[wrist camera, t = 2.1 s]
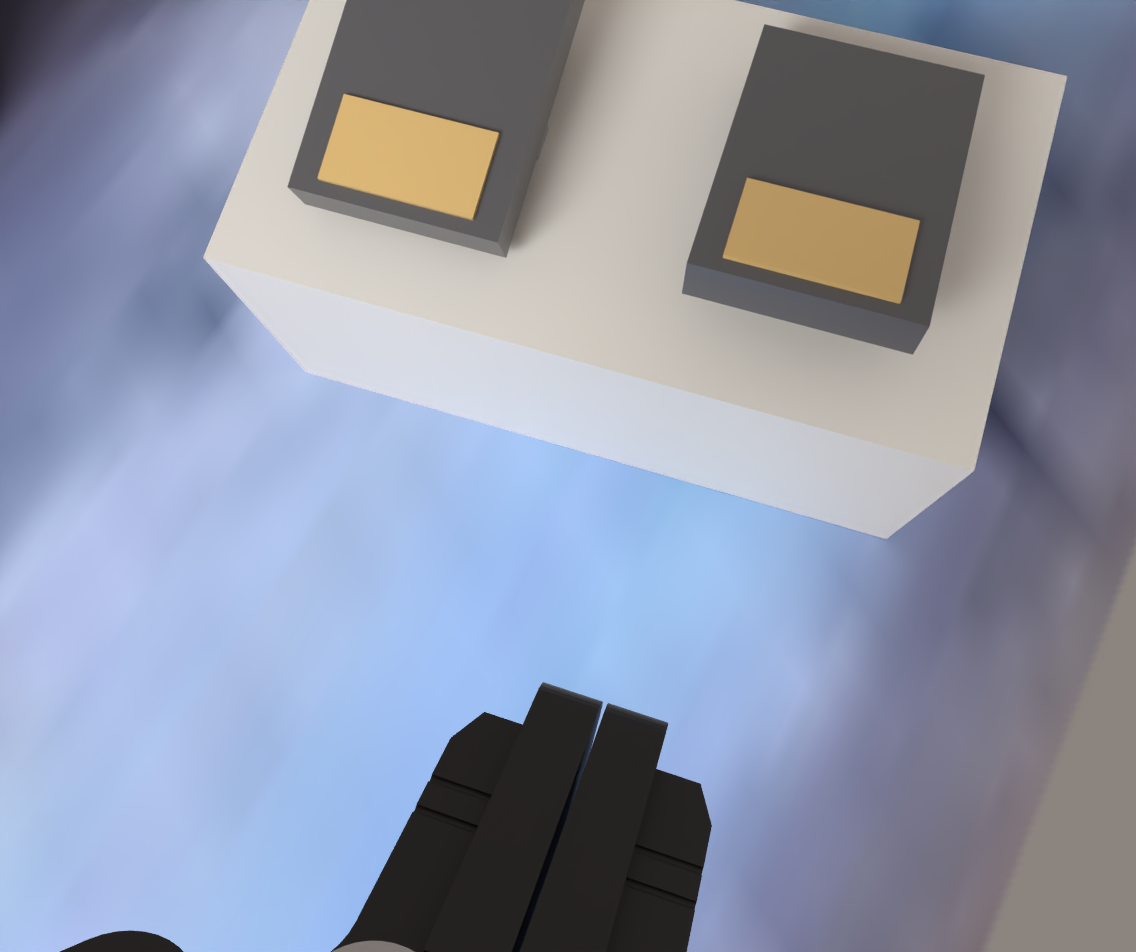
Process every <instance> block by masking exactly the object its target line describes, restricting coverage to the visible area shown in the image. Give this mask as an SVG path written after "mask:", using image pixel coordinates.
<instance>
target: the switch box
mask: <svg viewBox="0 0 1136 952" xmlns="http://www.w3.org/2000/svg"><path fill="white" fill-rule="evenodd" d="M345 3H346V0H310V1H309V3H308V6H307V8H306V11H305V13H304V15H303V18H302V20H301V23H300V25H299V27H298V30H297V32H296V35H295V37H294V40H293V42H292V44H291V47H290V49H289V52H288V54H287V56H286V59H285V61H284V64H283V66H282V68H281V71H280V73H279V76H278V78H277V81H276V83H275V85H274V88H273V90H272V93H271V95H270V97H269V100H268V102H267V105H266V107H265V110H264V112H263V114H262V117H261V119H260V122H259V124H258V126H257V129H256V131H255V134H254V136H253V138H252V141H251V143H250V146H249V148H248V151H247V153H246V155H245V158H244V160H243V163H242V165H241V167H240V170H239V172H238V175H237V177H236V179H235V182H234V184H233V187H232V189H231V192H230V194H229V196H228V199H227V201H226V204H225V206H224V208H223V211H222V213H221V216H220V218H219V220H218V223H217V225H216V228H215V230H214V233H213V235H212V237H211V240H210V242H209V245H208V247H207V249H206V252H205V254H204V257H203V258H204V259H205V260H206V261H207V262H208V263H209V265H210V266H211V267H212V268H213V269H214V270H215V271H216V272H217V274H218V275H219V276H220V277H221V278H222V279H223V280H224V281H225V282H226V284H227V285H228V286H229V287H230V288H231V289H232V290H233V291H234V292H235V294H236V295H237V296H238V297H239V298H240V299H241V300H242V301H243V302H244V304H245V305H246V306H247V307H248V308H249V309H250V310H251V311H252V312H253V314H254V315H255V316H256V317H257V318H258V319H259V320H260V321H261V322H262V324H263V325H264V326H265V327H266V328H267V329H268V330H269V331H270V332H271V334H272V335H273V336H274V337H275V338H276V339H277V340H278V341H279V342H280V344H281V345H282V346H283V347H284V348H285V349H286V350H287V351H288V352H289V354H290V355H291V356H292V357H293V358H294V359H295V360H296V361H297V363H298V364H299V365H300V366H301V367H302V368H303V369H304V370H305V371H306V373H310V374H313V375H317V376H320V377H324V378H327V379H331V380H334V381H338V382H341V383H345V384H348V385H352V386H355V387H358V388H362V389H365V390H369V391H372V392H376V393H379V394H383V395H386V396H390V397H393V398H397V399H400V400H404V401H407V402H411V403H414V404H418V405H421V406H425V407H428V408H431V409H435V410H438V411H442V412H445V413H449V414H452V415H456V416H459V417H463V418H466V419H470V420H473V421H477V422H480V423H484V424H487V425H491V426H494V427H498V428H501V429H505V430H508V431H511V432H515V433H518V434H522V435H525V436H529V437H532V438H536V439H539V440H543V441H546V442H550V443H553V444H557V445H560V446H564V447H567V448H571V449H574V450H578V451H581V452H584V453H588V454H591V455H595V456H598V457H602V458H605V459H609V460H612V461H616V462H619V463H623V464H626V465H630V466H633V467H637V468H640V469H644V470H647V471H651V472H654V473H658V474H661V475H664V476H668V477H671V478H675V479H678V480H682V481H685V482H689V483H692V484H696V485H699V486H703V487H706V488H710V489H713V490H717V491H720V492H724V493H727V494H731V495H734V496H737V497H741V498H744V499H748V500H751V501H755V502H758V503H762V504H765V505H769V506H772V507H776V508H779V509H783V510H786V511H790V512H793V513H797V514H800V515H804V516H807V517H811V518H814V519H817V520H821V521H824V522H828V523H831V524H835V525H838V526H842V527H845V528H849V529H852V530H856V531H859V532H863V533H866V534H870V535H873V536H877V537H880V538H884V539H887V538H888V537H890V536H891V535H892V534H893V533H895V532H896V531H897V530H899V529H900V528H901V527H902V526H904V525H905V524H906V523H908V522H909V521H910V520H911V519H913V518H914V517H915V516H917V515H918V514H919V513H921V512H922V511H923V510H924V509H926V508H927V507H928V506H930V505H931V504H932V503H933V502H935V501H936V500H937V499H939V498H940V497H941V496H942V495H944V494H945V493H946V492H948V491H949V490H950V489H951V488H953V487H954V486H955V485H957V484H958V483H959V482H961V481H962V480H963V479H964V478H966V477H967V476H968V475H970V474H971V473H972V472H973V471H974V470H975V465H976V461H977V457H978V453H979V448H980V444H981V440H982V436H983V431H984V427H985V423H986V419H987V415H988V410H989V406H990V402H991V398H992V393H993V389H994V385H995V381H996V376H997V372H998V368H999V364H1000V359H1001V355H1002V351H1003V347H1004V343H1005V338H1006V334H1007V330H1008V326H1009V321H1010V317H1011V313H1012V309H1013V304H1014V300H1015V296H1016V292H1017V287H1018V283H1019V279H1020V275H1021V271H1022V266H1023V262H1024V258H1025V254H1026V249H1027V245H1028V241H1029V237H1030V232H1031V228H1032V224H1033V220H1034V216H1035V211H1036V207H1037V203H1038V199H1039V194H1040V190H1041V186H1042V182H1043V177H1044V173H1045V169H1046V165H1047V160H1048V156H1049V152H1050V148H1051V144H1052V139H1053V135H1054V131H1055V127H1056V122H1057V118H1058V114H1059V110H1060V105H1061V101H1062V97H1063V93H1064V88H1065V84H1066V80H1067V76H1065V75H1060V74H1056V73H1052V72H1047V71H1043V70H1038V69H1034V68H1030V67H1025V66H1021V65H1017V64H1012V63H1008V62H1003V61H999V60H995V59H990V58H986V57H982V56H977V55H973V54H968V53H964V52H960V51H955V50H951V49H946V48H942V47H938V46H933V45H929V44H925V43H920V42H916V41H911V40H907V39H903V38H898V37H894V36H890V35H885V34H881V33H876V32H872V31H868V30H863V29H859V28H855V27H850V26H846V25H841V24H837V23H833V22H828V21H824V20H820V19H815V18H811V17H806V16H802V15H798V14H793V13H789V12H784V11H780V10H776V9H771V8H767V7H763V6H758V5H754V4H749V3H745V2H741V1H736V0H585V2H584V5H583V8H582V11H581V15H580V18H579V21H578V25H577V28H576V31H575V34H574V38H573V41H572V44H571V48H570V51H569V54H568V57H567V61H566V64H565V67H564V71H563V74H562V77H561V80H560V84H559V87H558V90H557V93H556V97H555V100H554V103H553V107H552V110H551V113H550V116H549V120H548V123H547V126H546V130H545V133H544V136H543V139H542V143H541V146H540V149H539V153H538V156H537V159H536V162H535V166H534V169H533V172H532V175H531V179H530V182H529V185H528V189H527V192H526V195H525V198H524V202H523V205H522V208H521V212H520V215H519V218H518V221H517V225H516V228H515V231H514V235H513V238H512V241H511V244H510V248H509V251H508V254H507V257H506V258H505V257H501V256H497V255H493V254H490V253H486V252H482V251H478V250H475V249H471V248H467V247H463V246H460V245H456V244H452V243H448V242H445V241H441V240H437V239H433V238H430V237H426V236H422V235H418V234H415V233H411V232H407V231H403V230H400V229H396V228H392V227H388V226H385V225H381V224H377V223H373V222H370V221H366V220H362V219H358V218H354V217H351V216H347V215H343V214H339V213H336V212H332V211H328V210H324V209H321V208H317V207H313V206H309V205H306V204H304V203H303V202H302V201H301V200H300V199H299V198H298V197H297V196H296V195H295V194H294V193H293V192H292V191H291V190H290V189H289V188H288V187H287V186H288V183H289V180H290V177H291V174H292V170H293V167H294V164H295V161H296V158H297V155H298V151H299V148H300V145H301V142H302V139H303V136H304V133H305V129H306V126H307V123H308V120H309V117H310V114H311V111H312V107H313V104H314V101H315V98H316V95H317V92H318V88H319V85H320V82H321V79H322V76H323V73H324V70H325V66H326V63H327V60H328V57H329V54H330V51H331V48H332V44H333V41H334V38H335V35H336V32H337V29H338V25H339V22H340V19H341V16H342V13H343V10H344V7H345ZM764 24H766V25H771V26H775V27H779V28H784V29H788V30H792V31H797V32H801V33H805V34H810V35H814V36H818V37H823V38H827V39H831V40H836V41H840V42H844V43H849V44H853V45H857V46H862V47H866V48H870V49H875V50H879V51H883V52H888V53H892V54H896V55H901V56H905V57H909V58H914V59H918V60H922V61H927V62H931V63H935V64H940V65H944V66H948V67H953V68H957V69H962V70H966V71H970V72H975V73H979V74H983V75H985V78H984V82H983V87H982V91H981V96H980V100H979V105H978V109H977V114H976V118H975V123H974V128H973V132H972V137H971V141H970V146H969V150H968V155H967V159H966V164H965V168H964V173H963V177H962V182H961V187H960V191H959V196H958V200H957V205H956V209H955V214H954V218H953V223H952V227H951V232H950V237H949V241H948V246H947V250H946V255H945V259H944V264H943V268H942V273H941V277H940V282H939V286H938V291H937V296H936V300H935V305H934V309H933V314H932V318H931V323H930V327H929V328H928V330H927V332H926V334H925V335H924V337H923V339H922V340H921V342H920V344H919V345H918V347H917V349H916V350H915V352H914V354H913V355H912V354H908V353H904V352H901V351H897V350H893V349H889V348H886V347H882V346H878V345H874V344H870V343H867V342H863V341H859V340H855V339H852V338H848V337H844V336H840V335H837V334H833V333H829V332H825V331H821V330H818V329H814V328H810V327H806V326H803V325H799V324H795V323H791V322H787V321H784V320H780V319H776V318H772V317H769V316H765V315H761V314H757V313H754V312H750V311H746V310H742V309H738V308H735V307H731V306H727V305H723V304H720V303H716V302H712V301H708V300H704V299H701V298H697V297H693V296H689V295H686V294H682V289H683V283H684V276H685V270H686V264H687V260H688V257H689V254H690V251H691V248H692V245H693V242H694V239H695V236H696V233H697V230H698V227H699V224H700V221H701V217H702V214H703V211H704V208H705V205H706V202H707V199H708V196H709V193H710V190H711V187H712V184H713V181H714V177H715V174H716V171H717V168H718V165H719V162H720V159H721V156H722V153H723V150H724V147H725V144H726V141H727V137H728V134H729V131H730V128H731V125H732V122H733V119H734V116H735V113H736V110H737V107H738V104H739V101H740V98H741V94H742V91H743V88H744V85H745V82H746V79H747V76H748V73H749V70H750V67H751V64H752V61H753V58H754V54H755V51H756V48H757V45H758V42H759V39H760V36H761V33H762V30H763V27H764Z"/></svg>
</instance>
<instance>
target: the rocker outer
mask: <svg viewBox="0 0 1136 952" xmlns="http://www.w3.org/2000/svg"><path fill="white" fill-rule="evenodd" d="M984 78H985V75H983V74H979V73H975V72H970V71H966V70H962V69H957V68H953V67H948V66H944V65H940V64H935V63H931V62H927V61H922V60H918V59H914V58H909V57H905V56H901V55H896V54H892V53H888V52H883V51H879V50H875V49H870V48H866V47H862V46H857V45H853V44H849V43H844V42H840V41H836V40H831V39H827V38H823V37H818V36H814V35H810V34H805V33H801V32H797V31H792V30H788V29H784V28H779V27H775V26H771V25H766V24H764V27H763V30H762V33H761V36H760V39H759V42H758V45H757V48H756V51H755V54H754V58H753V61H752V64H751V67H750V70H749V73H748V76H747V79H746V82H745V85H744V88H743V91H742V94H741V98H740V101H739V104H738V107H737V110H736V113H735V116H734V119H733V122H732V125H731V128H730V131H729V134H728V137H727V141H726V144H725V147H724V150H723V153H722V156H721V159H720V162H719V165H718V168H717V171H716V174H715V177H714V181H713V184H712V187H711V190H710V193H709V196H708V199H707V202H706V205H705V208H704V211H703V214H702V217H701V221H700V224H699V227H698V230H697V233H696V236H695V239H694V242H693V245H692V248H691V251H690V254H689V257H688V260H687V264H686V270H685V276H684V283H683V289H682V294H686V295H689V296H693V297H697V298H701V299H704V300H708V301H712V302H716V303H720V304H723V305H727V306H731V307H735V308H738V309H742V310H746V311H750V312H754V313H757V314H761V315H765V316H769V317H772V318H776V319H780V320H784V321H787V322H791V323H795V324H799V325H803V326H806V327H810V328H814V329H818V330H821V331H825V332H829V333H833V334H837V335H840V336H844V337H848V338H852V339H855V340H859V341H863V342H867V343H870V344H874V345H878V346H882V347H886V348H889V349H893V350H897V351H901V352H904V353H908V354H912V355H913V354H914V352H915V350H916V349H917V347H918V345H919V344H920V342H921V340H922V339H923V337H924V335H925V334H926V332H927V330H928V328H929V327H930V323H931V318H932V314H933V309H934V305H935V300H936V296H937V291H938V286H939V282H940V277H941V273H942V268H943V264H944V259H945V255H946V250H947V246H948V241H949V237H950V232H951V227H952V223H953V218H954V214H955V209H956V205H957V200H958V196H959V191H960V187H961V182H962V177H963V173H964V168H965V164H966V159H967V155H968V150H969V146H970V141H971V137H972V132H973V128H974V123H975V118H976V114H977V109H978V105H979V100H980V96H981V91H982V87H983V82H984Z"/></svg>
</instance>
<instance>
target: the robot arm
mask: <svg viewBox="0 0 1136 952" xmlns="http://www.w3.org/2000/svg"><path fill="white" fill-rule="evenodd" d="M602 704H603V702H602V701H599V700H596V699H593V698H590V697H587V696H584V695H581V694H577V693H574V692H571V691H568V690H565V689H562V688H559V687H556V686H553V685H550V684H547V683H544V682H543V683H542V684H541V686H540V688H539V689H538V692H537V694H536V696H535V698H534V701H533V703H532V705H531V707H530V710H529V712H528V714H527V716H526V719H525V721H524V723H523V725H522V724H519V723H516V722H513V721H510V720H507V719H504V718H501V717H498V716H495V715H492V714H489V713H486V712H484V713H482V714H481V715H480V716H479V717H477V718H476V719H475V720H473V721H472V722H471V723H469V724H468V725H467V726H466V727H464V728H463V729H462V730H460V731H459V732H458V733H456V734H455V735H454V736H453V737H451V739H450V740H449V742H448V744H447V746H446V748H445V750H444V752H443V754H442V756H441V758H440V760H439V762H438V764H437V766H436V768H435V770H434V771H433V773H432V777H431V779H430V782H429V781H428V783H427V785H426V787H425V789H424V791H423V793H422V795H421V797H420V799H419V801H418V802H417V805H416V808H415V811H414V812H412V814H411V816H410V818H409V820H408V822H407V824H406V826H405V828H404V830H403V832H402V834H401V835H400V837H399V839H398V841H397V843H396V845H395V847H394V849H393V851H392V853H391V855H390V857H389V859H388V861H387V863H386V865H385V866H384V868H383V870H382V872H381V874H380V876H379V878H378V880H377V882H376V884H375V886H374V888H373V890H372V892H371V894H370V896H369V897H368V899H367V901H366V903H365V905H364V907H363V909H362V911H361V913H360V915H359V917H358V919H357V921H356V923H355V924H354V926H353V927H352V929H351V931H350V932H349V934H348V935H347V936H346V937H345V938H344V939H343V941H342V942H341V943H340V944H339V945H338V946H337V947H336V948H334V949H333V950H332V951H331V952H687V947H688V942H689V937H690V932H691V927H692V922H693V917H694V912H695V910H694V909H695V905H696V902H697V897H698V892H699V887H700V882H701V877H702V875H701V874H702V870H703V867H704V862H705V857H706V852H707V847H708V842H709V837H710V832H711V827H712V825H711V821H710V818H709V814H708V810H707V806H706V803H705V799H704V795H703V791H702V787H701V784H700V783H697V782H694V781H691V780H688V779H685V778H682V777H679V776H676V775H673V774H670V773H667V772H664V771H661V770H658V769H656V767H657V763H658V760H659V756H660V752H661V749H662V745H663V741H664V738H665V734H666V730H667V726H668V723H667V722H664V721H661V720H658V719H655V718H652V717H649V716H646V715H643V714H640V713H636V712H633V711H630V710H627V709H624V708H621V707H618V706H615V705H612V704H609V703H608V704H607V706H606V709H605V712H604V714H603V717H602V720H601V723H600V726H599V729H598V731H597V734H596V737H595V740H594V743H593V739H594V735H595V732H596V728H597V724H598V720H599V717H600V713H601V709H602ZM592 743H593V746H592ZM591 747H592V748H591ZM60 952H183V951H182V950H181V949H180V948H179V947H178V946H177V945H175V944H174V943H173V942H171V941H170V940H168V939H166V938H163V937H161V936H159V935H156V934H152V933H148V932H142V931H118V932H112V933H108V934H103V935H100V936H97V937H94V938H91V939H88V940H86V941H84V942H81V943H79V944H77V945H74V946H72V947H70V948H67V949H65V950H63V951H60Z"/></svg>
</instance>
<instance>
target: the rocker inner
mask: <svg viewBox="0 0 1136 952" xmlns="http://www.w3.org/2000/svg"><path fill="white" fill-rule="evenodd" d="M584 2H585V0H346V3H345V7H344V10H343V13H342V16H341V19H340V22H339V25H338V29H337V32H336V35H335V38H334V41H333V44H332V48H331V51H330V54H329V57H328V60H327V63H326V66H325V70H324V73H323V76H322V79H321V82H320V85H319V88H318V92H317V95H316V98H315V101H314V104H313V107H312V111H311V114H310V117H309V120H308V123H307V126H306V129H305V133H304V136H303V139H302V142H301V145H300V148H299V151H298V155H297V158H296V161H295V164H294V167H293V170H292V174H291V177H290V180H289V183H288V186H287V187H288V188H289V189H290V190H291V191H292V192H293V193H294V194H295V195H296V196H297V197H298V198H299V199H300V200H301V201H302V202H303V203H304V204H306V205H309V206H313V207H317V208H321V209H324V210H328V211H332V212H336V213H339V214H343V215H347V216H351V217H354V218H358V219H362V220H366V221H370V222H373V223H377V224H381V225H385V226H388V227H392V228H396V229H400V230H403V231H407V232H411V233H415V234H418V235H422V236H426V237H430V238H433V239H437V240H441V241H445V242H448V243H452V244H456V245H460V246H463V247H467V248H471V249H475V250H478V251H482V252H486V253H490V254H493V255H497V256H501V257H505V258H506V257H507V254H508V251H509V248H510V244H511V241H512V238H513V235H514V231H515V228H516V225H517V221H518V218H519V215H520V212H521V208H522V205H523V202H524V198H525V195H526V192H527V189H528V185H529V182H530V179H531V175H532V172H533V169H534V166H535V162H536V159H537V156H538V153H539V149H540V146H541V143H542V139H543V136H544V133H545V130H546V126H547V123H548V120H549V116H550V113H551V110H552V107H553V103H554V100H555V97H556V93H557V90H558V87H559V84H560V80H561V77H562V74H563V71H564V67H565V64H566V61H567V57H568V54H569V51H570V48H571V44H572V41H573V38H574V34H575V31H576V28H577V25H578V21H579V18H580V15H581V11H582V8H583V5H584Z"/></svg>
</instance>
